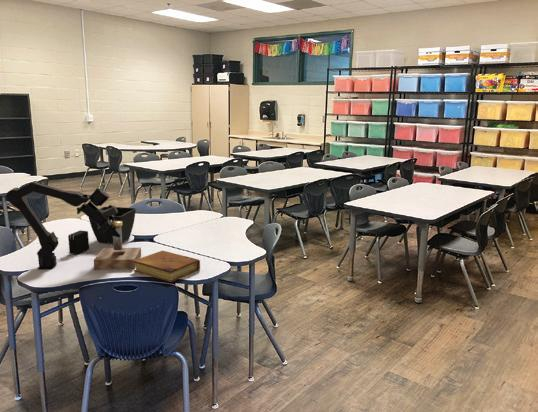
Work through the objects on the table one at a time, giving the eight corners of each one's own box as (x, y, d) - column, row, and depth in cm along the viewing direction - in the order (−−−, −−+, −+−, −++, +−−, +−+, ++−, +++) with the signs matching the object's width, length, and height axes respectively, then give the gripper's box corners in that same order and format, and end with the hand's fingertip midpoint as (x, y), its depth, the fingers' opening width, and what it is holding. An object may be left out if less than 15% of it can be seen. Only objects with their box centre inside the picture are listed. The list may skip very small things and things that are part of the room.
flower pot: (122, 246, 243) (120, 215, 239) (89, 244, 246) (86, 213, 242) (137, 236, 261) (136, 208, 258) (106, 235, 264) (104, 206, 261)
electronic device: (89, 249, 238) (88, 230, 236) (76, 255, 229) (75, 235, 226) (82, 248, 239) (81, 229, 237) (69, 254, 230) (67, 235, 227)
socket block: (94, 269, 209) (93, 260, 208) (103, 256, 227) (103, 248, 226) (134, 268, 211) (134, 259, 210) (141, 256, 228) (140, 247, 228)
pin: (114, 251, 213) (113, 224, 211) (110, 248, 217) (108, 221, 215) (125, 249, 217) (124, 222, 214) (121, 246, 221) (119, 220, 218)
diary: (200, 271, 211) (200, 259, 210) (171, 283, 196) (170, 270, 195) (164, 260, 224) (163, 249, 222) (133, 272, 208) (133, 260, 207)
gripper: (103, 205, 202) (131, 228, 207) (108, 196, 220) (133, 218, 225) (85, 223, 202) (113, 245, 207) (92, 213, 220) (117, 234, 225)
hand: (120, 235), depth 216 cm, fingers closed on pin, 4 cm apart
